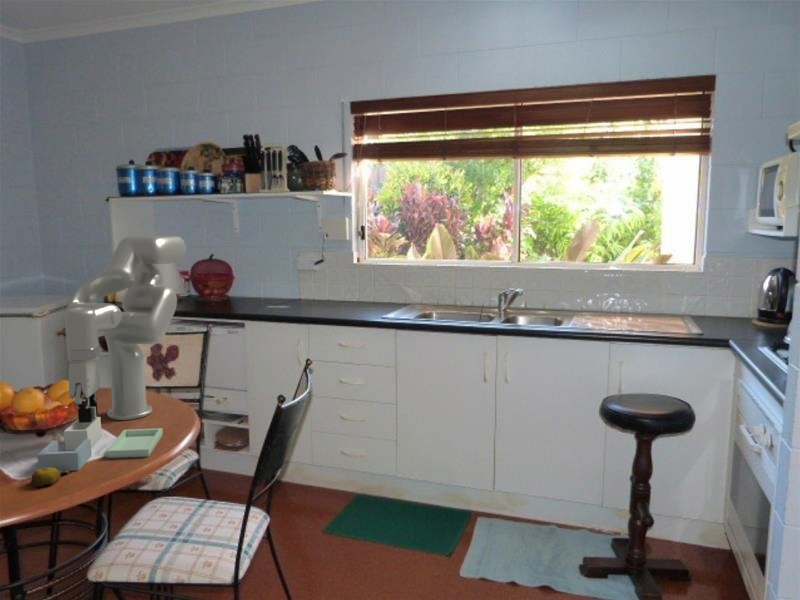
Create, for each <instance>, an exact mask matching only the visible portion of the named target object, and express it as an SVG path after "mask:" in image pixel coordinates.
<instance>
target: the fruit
mask: <svg viewBox="0 0 800 600" xmlns="http://www.w3.org/2000/svg"><path fill="white" fill-rule="evenodd" d="M65 473H66V475H67V474H69V473H70V471H67V470H63V471H58V470H57V469H56V468H51V467H49V468H41V469H39V468H38V469H36V470H34V472H33V473H32V475H31V476H30V477H29V479H30V483H31V486H32V487H33V488H35V489H37V488H38V487H44V485H51V486H53V485H55V484H57V483H58V482H59V481H60V479H61V474H65Z"/></svg>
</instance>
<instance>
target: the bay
mask: <svg viewBox="0 0 800 600" xmlns="http://www.w3.org/2000/svg"><path fill="white" fill-rule="evenodd" d="M59 449H60V448H59V440H52V441H50V443H49V444H47V445H46V446H45V447H44V448H43V449H42V450H41V451H39V453H37V461H38V469H41V468H49V467H51V468H56V469H57V470H58V471H61V472H62V471H63V470H67V471H69V472H70V471H71V472H73V471H75V472H76V471H80V470H81V469H82V468H83V466H84V465H85V464H86V463H88V461H89V459H90V458H91V457H92V456H93V455H92V454H93V453H92V449H91V440H90V439H85V440H84V441H83V442H82V443H81V444H80V445H79V447H78V448H77V449H76V450H75V451H66V450H65V451H64V450H63V451H60V450H59ZM91 455H92V456H91Z"/></svg>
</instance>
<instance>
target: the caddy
mask: <svg viewBox="0 0 800 600" xmlns="http://www.w3.org/2000/svg"><path fill="white" fill-rule="evenodd" d="M91 412H92V421H91V422H85V423H80V422H79V417H78V418H77V419H76V420H75V421H73V422H72V423H71V424H70V425H69V426H68V427H67V428H66V429H65V430H63V435H64V437H63V438H64V447H65V448H64V450H65V451H75V450H76V449H77V448H78V447H79V445H80V444H81V443H82V442H83V441H84V440H85V439H90V440H91V448H92V447H93V446H96V444H97V443H98V442H99V441H100V440H101V439H102V438H103V435H102V434H103V433H102V423H101V421H102V420H101V416H96V407H91ZM101 437H102V438H101ZM100 438H101V439H100ZM99 439H100V440H99ZM98 440H99V441H98ZM97 441H98V442H97ZM96 442H97V443H96ZM95 443H96V444H95ZM93 448H94V447H93ZM93 448H92V449H93Z"/></svg>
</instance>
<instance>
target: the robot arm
mask: <svg viewBox="0 0 800 600" xmlns="http://www.w3.org/2000/svg"><path fill="white" fill-rule="evenodd" d="M186 254H187V245H186V242H185V241H184V239H183V238H182V237H180V236H179V235H129V236H126V237H123V238H122V239H121V240H120V241H119V243H118V245H117V247H116V248H115V250H114V252H113V254H112V256H111V258H110V259H109V262H108V263H107V265H106V267H105V269H104V270H103V271H102V272H100V273H98V274H97V275H95V276H93V277H92V278H90V279H89V280H88V281H86V282H85V283H83V284H82V285H80V287H78V289H77V290H75V292H74V294H73V295H72V298H71V299H70V301H69V302H68V305H67V307H66V310H65V312H64V325H65V326H64V327H65V328H64V329H65V337H66V338H65V339H66V350H67V361H68V362H69V364H68V396H69V399H72V400H73V399H74V404H75V405H76V409H77V414H78V416H77V417H78V418H79V422H80V423H85V422H91V421H92V412H91V407H96V417H98V416H99V412H98V411H99V410H98V397H97V396H98V395H97V391H98V390H99V389H100V386H101V378H100V377H101V376H100V367H99V363H98V362H99V361H98V360H99V359H100V348H99V347H100V345H99V334H98V333H99V332H103V336H104V338H105V342H106V345H107V351H108V358H109V374H110V389H111V401H112V405H111V406H112V407H111V408H110V409H108V411H107V417H108V418H109V419H111V420H115V421H117V420H118V421H127V420H128V421H129V420H135V419H140V418H143V417H145V416H148V415H150V414H151V413H152V412H153V407H152V405H150V404H148V403H147V391H146V390H147V389H146V376H145V375H146V373H145V357H144V354H143V352H142V349H141V348H140V346H139V345H156V344H159V343H160V342H161V341H162V340H163V339H164V337H165V335H166V333H167V331H168V328H169V326H170V324H171V322H172V319H173V317H174V315H175V313H176V309H177V306H178V305H177V303H178V298H177V294H176V291H175V290H174V289H173V288H172V287H169V286H167V285H166V286H165V285H162V284H163V276H162V274H161V272H160V271H159V269H158V268H157V265H168V264H174V263H179V262H181V261H182V260H183V259H184V257H185V256H186ZM124 290H126V292H125V293H124V295H123V298H122V301H121V304H122V305H121V307H122V309H123V311H121V309H120V308H119V306H117V305H115V304H113V303H110V302H109V303H108V302H97V301H98V300H100V299H103V298H104V297H106V296H110V295H112V294H116V293H119V292H122V291H124Z"/></svg>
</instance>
